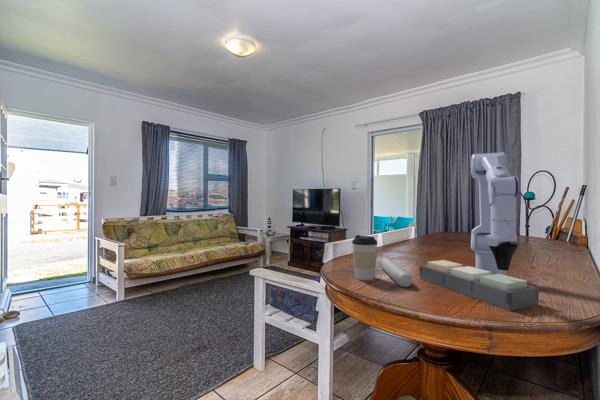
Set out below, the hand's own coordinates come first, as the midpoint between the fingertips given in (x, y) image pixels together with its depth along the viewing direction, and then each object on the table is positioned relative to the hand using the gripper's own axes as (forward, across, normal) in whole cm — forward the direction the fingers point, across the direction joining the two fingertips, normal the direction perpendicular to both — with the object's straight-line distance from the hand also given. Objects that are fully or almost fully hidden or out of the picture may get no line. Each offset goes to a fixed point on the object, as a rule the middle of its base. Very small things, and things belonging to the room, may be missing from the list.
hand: (503, 269), depth 79 cm
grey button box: (+9, -3, -10) cm, 13 cm away
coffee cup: (+9, +13, -38) cm, 42 cm away
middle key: (+5, -3, -10) cm, 11 cm away
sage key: (+5, 0, 0) cm, 5 cm away
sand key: (+5, -5, -19) cm, 21 cm away
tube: (+9, +4, -32) cm, 34 cm away
